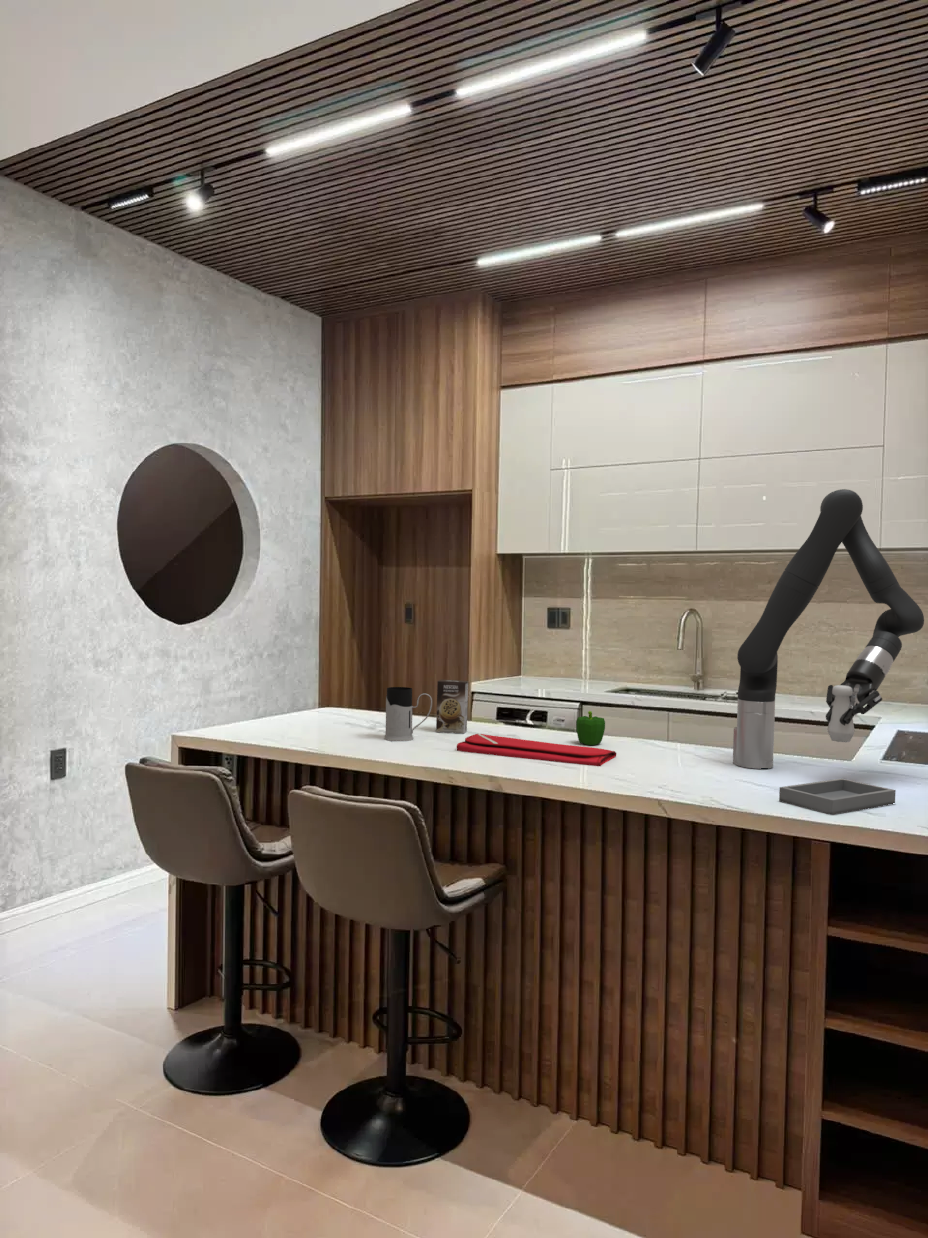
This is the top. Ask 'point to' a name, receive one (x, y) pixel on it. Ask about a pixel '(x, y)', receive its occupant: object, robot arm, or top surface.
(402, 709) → the glass holder
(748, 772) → the top surface
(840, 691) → the salt shaker
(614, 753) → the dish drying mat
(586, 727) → the bell pepper
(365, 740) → the top surface
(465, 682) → the coffee box
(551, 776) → the top surface
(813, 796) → the charcoal tray
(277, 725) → the top surface
